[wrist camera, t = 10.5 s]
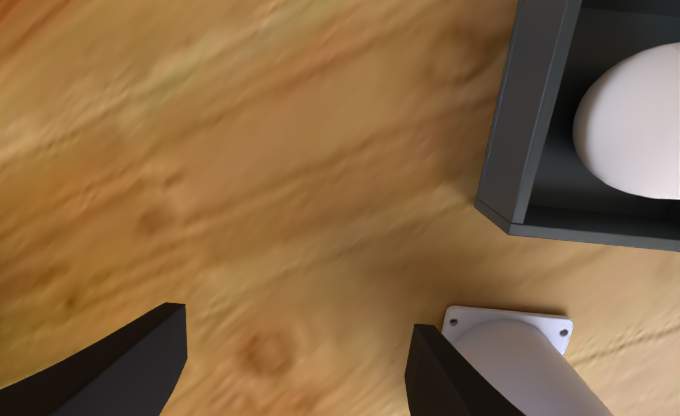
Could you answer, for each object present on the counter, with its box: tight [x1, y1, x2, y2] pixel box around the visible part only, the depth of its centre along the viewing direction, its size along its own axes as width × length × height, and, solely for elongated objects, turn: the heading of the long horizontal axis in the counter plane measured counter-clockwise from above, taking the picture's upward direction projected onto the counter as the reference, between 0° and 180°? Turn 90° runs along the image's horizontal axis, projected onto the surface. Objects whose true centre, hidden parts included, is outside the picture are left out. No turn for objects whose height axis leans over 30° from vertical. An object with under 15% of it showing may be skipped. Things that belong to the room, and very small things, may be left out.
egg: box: [572, 42, 680, 199], centre depth 15 cm, size 6×6×8 cm
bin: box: [474, 0, 680, 252], centre depth 17 cm, size 11×11×4 cm
